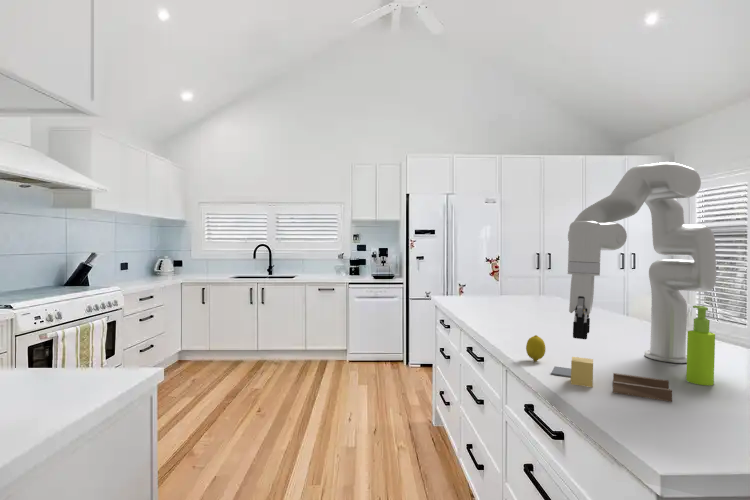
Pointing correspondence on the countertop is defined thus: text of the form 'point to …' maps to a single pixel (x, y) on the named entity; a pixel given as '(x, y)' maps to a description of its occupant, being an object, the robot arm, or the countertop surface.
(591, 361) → the ochre block
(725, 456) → the countertop surface
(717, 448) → the countertop surface
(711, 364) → the soap dispenser
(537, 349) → the lemon
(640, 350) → the countertop surface
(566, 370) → the slate coaster
